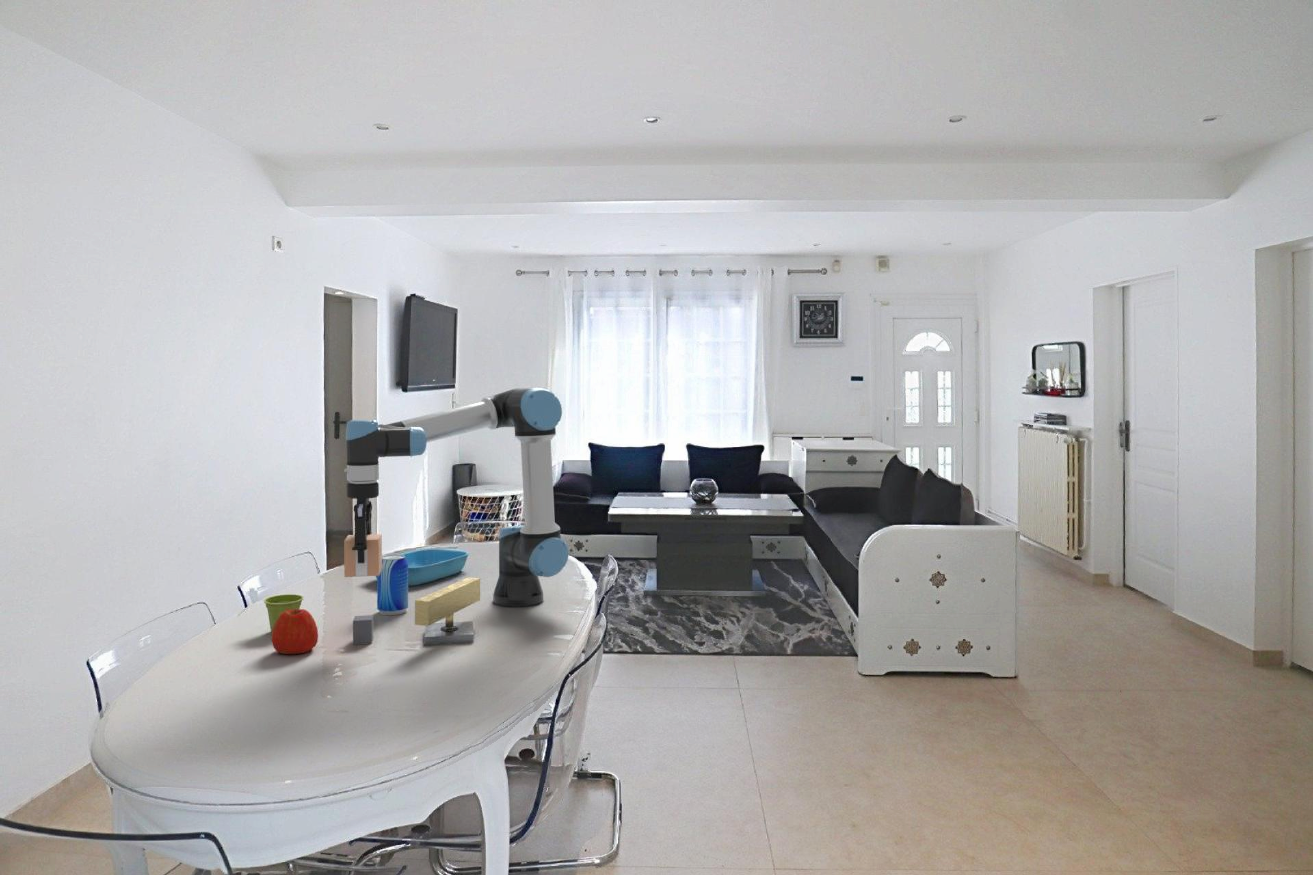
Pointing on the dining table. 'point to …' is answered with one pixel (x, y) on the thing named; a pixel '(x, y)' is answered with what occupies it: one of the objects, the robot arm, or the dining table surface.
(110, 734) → the dining table surface
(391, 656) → the dining table surface
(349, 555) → the peach tan cube
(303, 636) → the apple
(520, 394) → the robot arm
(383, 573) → the beer can
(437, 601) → the yellow t-shaped bar
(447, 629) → the grey square base plate
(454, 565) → the casserole dish
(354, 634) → the slate grey block
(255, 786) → the dining table surface
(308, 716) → the dining table surface
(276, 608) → the plant pot
